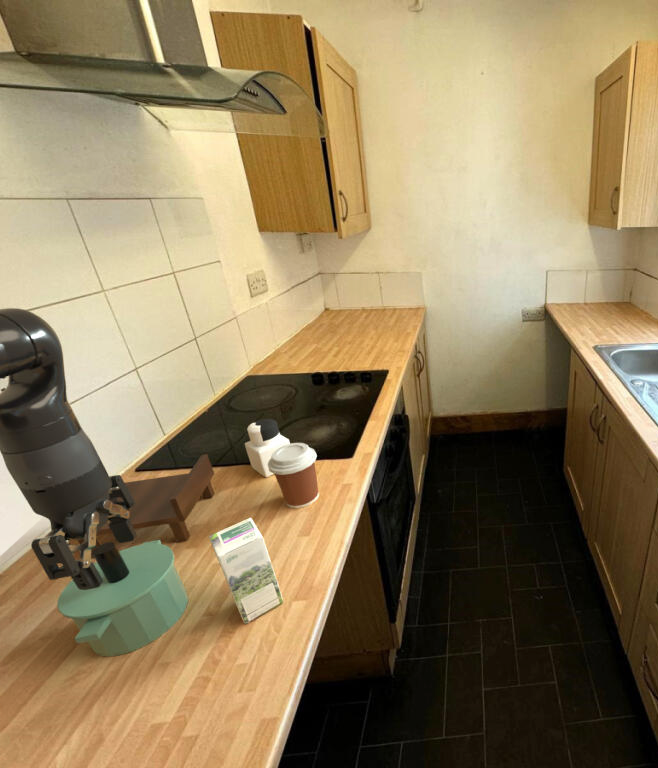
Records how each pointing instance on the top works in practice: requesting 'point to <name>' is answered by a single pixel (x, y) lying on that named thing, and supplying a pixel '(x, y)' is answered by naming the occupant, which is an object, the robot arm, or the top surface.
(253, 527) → the milk carton
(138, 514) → the shelf
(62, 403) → the robot arm
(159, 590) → the pot
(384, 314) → the top surface
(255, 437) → the medicine bottle
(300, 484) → the coffee cup
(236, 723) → the top surface
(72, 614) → the lid
